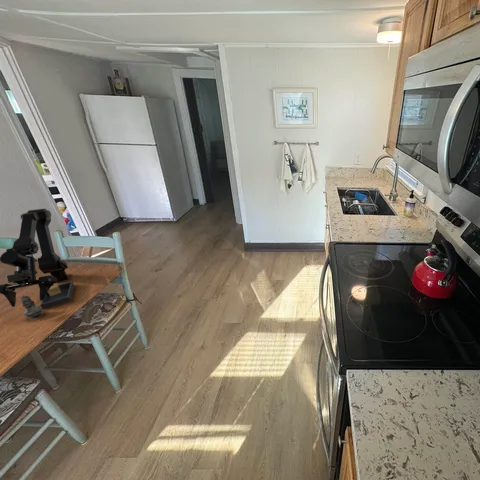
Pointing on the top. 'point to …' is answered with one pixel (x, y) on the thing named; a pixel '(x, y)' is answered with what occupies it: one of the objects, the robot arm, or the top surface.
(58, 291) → the block
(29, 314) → the grey statuette
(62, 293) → the tray
